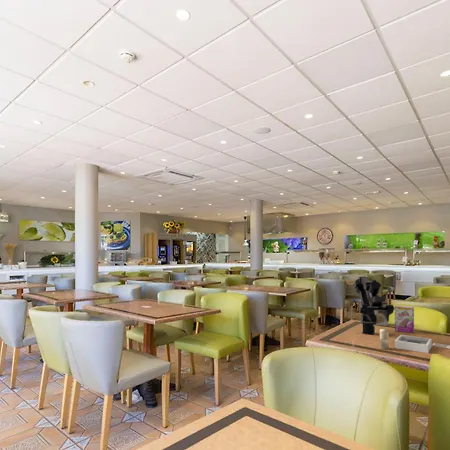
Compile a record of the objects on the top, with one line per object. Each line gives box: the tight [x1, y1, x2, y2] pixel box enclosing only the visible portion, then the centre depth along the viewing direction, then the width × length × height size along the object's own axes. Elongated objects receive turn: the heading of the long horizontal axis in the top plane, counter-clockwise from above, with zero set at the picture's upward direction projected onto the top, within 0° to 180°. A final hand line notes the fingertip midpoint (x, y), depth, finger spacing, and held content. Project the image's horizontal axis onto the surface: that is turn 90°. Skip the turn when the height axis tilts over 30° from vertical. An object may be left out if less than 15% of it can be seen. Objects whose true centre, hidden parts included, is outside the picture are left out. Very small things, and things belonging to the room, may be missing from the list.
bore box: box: [394, 334, 433, 354], centre depth 195 cm, size 16×16×4 cm
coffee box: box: [374, 301, 389, 327], centre depth 252 cm, size 9×6×16 cm
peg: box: [379, 328, 390, 351], centre depth 193 cm, size 4×4×10 cm
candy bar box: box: [394, 305, 415, 334], centre depth 230 cm, size 11×5×16 cm, turn 58°
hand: (379, 321), depth 201 cm, fingers open, 9 cm apart
